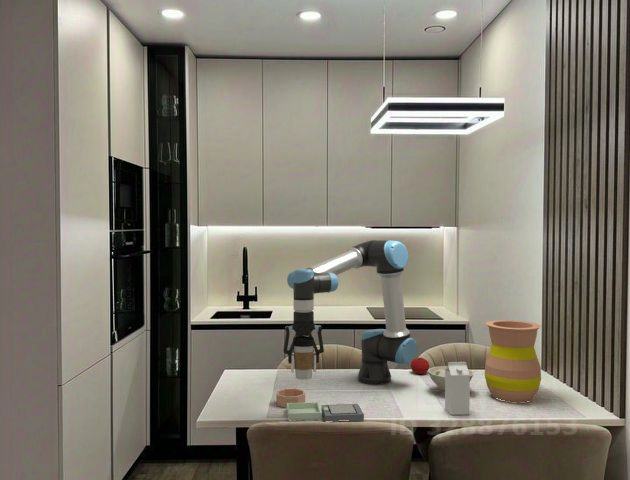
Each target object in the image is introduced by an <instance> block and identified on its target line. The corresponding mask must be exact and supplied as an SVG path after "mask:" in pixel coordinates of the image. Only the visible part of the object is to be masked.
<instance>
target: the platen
mask: <svg viewBox="0 0 630 480" xmlns="http://www.w3.org/2000/svg"><path fill="white" fill-rule="evenodd" d="M330 405H331V406H329V411H330V414H331V415H333V414H356V411H355V409H354V407H353V405H337V404H330Z"/></svg>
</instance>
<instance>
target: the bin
mask: <svg viewBox="0 0 630 480" xmlns="http://www.w3.org/2000/svg"><path fill="white" fill-rule="evenodd" d="M287 403H306V391H305V390H303V389H301V388H283V389H280V390H277V391H276V405H277V406H278V407H280V408H285V409H287Z"/></svg>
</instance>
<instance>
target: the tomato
mask: <svg viewBox="0 0 630 480" xmlns="http://www.w3.org/2000/svg"><path fill="white" fill-rule="evenodd" d="M429 368H430V363H429V362H428V360H427V359H425V358H423V357H416V358H414V359H413V360H412V361H411V362H410V369H411V370H412V372H413V373H414V374H417V375H424V374H426V373H428V369H429Z"/></svg>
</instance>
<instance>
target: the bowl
mask: <svg viewBox="0 0 630 480" xmlns="http://www.w3.org/2000/svg"><path fill="white" fill-rule="evenodd" d="M447 366H448V365H443V366H442V365H441V366H433V367H429V369H428V371H427V374H428V375H429V377H430V380H431V381H432V382H433V383H434V384H435V386H437V387H438V388H439V389H441V391H442V392H441V393H442V394H443V395H445V370H446V368H447ZM468 371H469V374H470V381H471V380H472V379H473V377H474V371H473V370H471V369H468Z"/></svg>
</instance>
